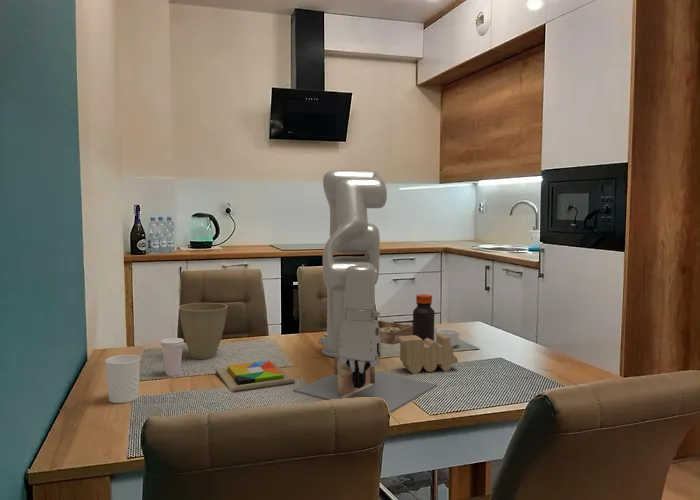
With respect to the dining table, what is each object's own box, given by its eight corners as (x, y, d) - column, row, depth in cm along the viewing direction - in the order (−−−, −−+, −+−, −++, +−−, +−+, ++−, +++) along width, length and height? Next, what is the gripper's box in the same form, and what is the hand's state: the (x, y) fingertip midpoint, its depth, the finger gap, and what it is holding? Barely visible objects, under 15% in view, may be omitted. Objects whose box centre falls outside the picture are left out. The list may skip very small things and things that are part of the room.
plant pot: (204, 365, 166) (203, 312, 165) (169, 357, 174) (168, 307, 172) (237, 353, 179) (237, 305, 178) (203, 347, 186) (203, 300, 185)
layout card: (293, 391, 143) (293, 389, 143) (350, 367, 165) (350, 366, 165) (386, 415, 127) (386, 413, 127) (436, 385, 149) (436, 384, 149)
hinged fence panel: (365, 382, 149) (366, 365, 149) (370, 383, 148) (370, 366, 148) (336, 394, 139) (336, 377, 139) (341, 396, 138) (341, 378, 138)
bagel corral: (356, 338, 202) (356, 327, 202) (378, 330, 215) (379, 320, 215) (393, 344, 194) (393, 333, 193) (414, 336, 206) (414, 325, 206)
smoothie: (189, 372, 159) (188, 323, 158) (175, 378, 153) (174, 328, 152) (170, 369, 161) (169, 322, 160) (156, 376, 155) (155, 326, 154)
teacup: (463, 347, 190) (463, 332, 189) (444, 350, 187) (444, 334, 186) (446, 341, 199) (447, 326, 199) (428, 343, 196) (428, 328, 195)
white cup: (112, 393, 140) (111, 354, 139) (144, 393, 141) (143, 354, 140) (101, 404, 132) (100, 363, 132) (135, 404, 133) (134, 363, 132)
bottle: (427, 354, 181) (429, 293, 179) (437, 359, 175) (438, 296, 173) (408, 355, 179) (409, 294, 177) (417, 361, 172) (419, 297, 171)
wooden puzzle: (232, 395, 142) (232, 381, 142) (214, 375, 158) (214, 363, 158) (296, 385, 150) (296, 372, 150) (272, 367, 167) (272, 355, 166)
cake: (370, 340, 202) (369, 325, 202) (386, 336, 210) (386, 322, 210) (392, 342, 196) (391, 327, 196) (408, 338, 203) (407, 323, 203)
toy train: (457, 370, 163) (458, 337, 162) (402, 374, 159) (403, 340, 158) (449, 365, 169) (450, 333, 168) (396, 369, 164) (397, 335, 164)
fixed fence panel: (376, 382, 150) (376, 364, 150) (372, 384, 149) (372, 365, 148) (336, 373, 158) (336, 356, 157) (332, 375, 156) (333, 357, 156)
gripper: (392, 315, 139) (391, 386, 141) (339, 310, 146) (338, 378, 147) (381, 320, 133) (380, 395, 134) (326, 314, 139) (325, 386, 140)
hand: (358, 386), depth 140 cm, fingers closed
